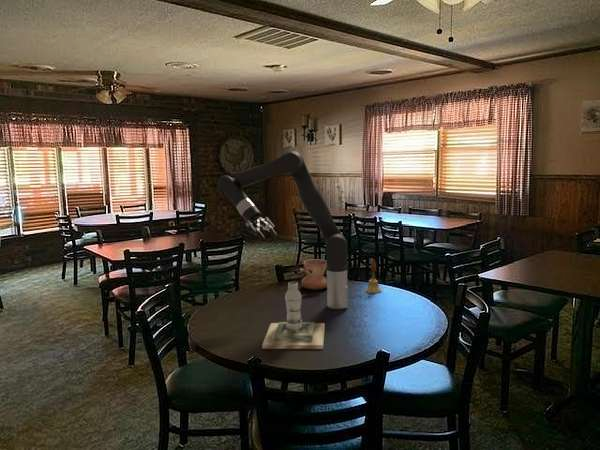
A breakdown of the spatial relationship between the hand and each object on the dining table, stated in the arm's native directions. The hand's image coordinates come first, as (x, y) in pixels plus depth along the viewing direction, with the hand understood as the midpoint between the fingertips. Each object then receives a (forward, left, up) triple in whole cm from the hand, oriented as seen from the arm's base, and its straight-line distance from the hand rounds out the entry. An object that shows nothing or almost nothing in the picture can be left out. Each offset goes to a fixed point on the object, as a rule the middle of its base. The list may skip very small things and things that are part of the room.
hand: (269, 238), depth 206 cm
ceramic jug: (-18, -39, -34) cm, 55 cm away
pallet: (-13, +28, -34) cm, 46 cm away
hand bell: (-47, -33, -34) cm, 66 cm away
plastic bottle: (-13, +28, -32) cm, 45 cm away
